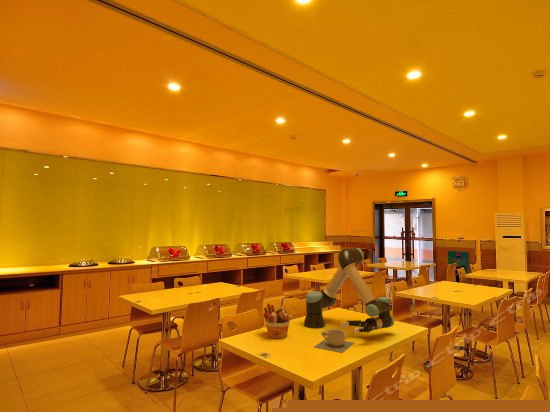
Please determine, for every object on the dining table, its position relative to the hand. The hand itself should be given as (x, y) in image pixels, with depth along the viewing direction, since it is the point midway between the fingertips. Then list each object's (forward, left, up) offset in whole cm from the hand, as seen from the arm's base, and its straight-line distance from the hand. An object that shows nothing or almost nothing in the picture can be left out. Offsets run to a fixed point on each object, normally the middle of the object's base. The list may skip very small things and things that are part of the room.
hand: (347, 328), depth 209 cm
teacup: (-5, -9, -9) cm, 13 cm away
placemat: (-5, -9, -9) cm, 13 cm away
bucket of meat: (-44, -12, -9) cm, 46 cm away
